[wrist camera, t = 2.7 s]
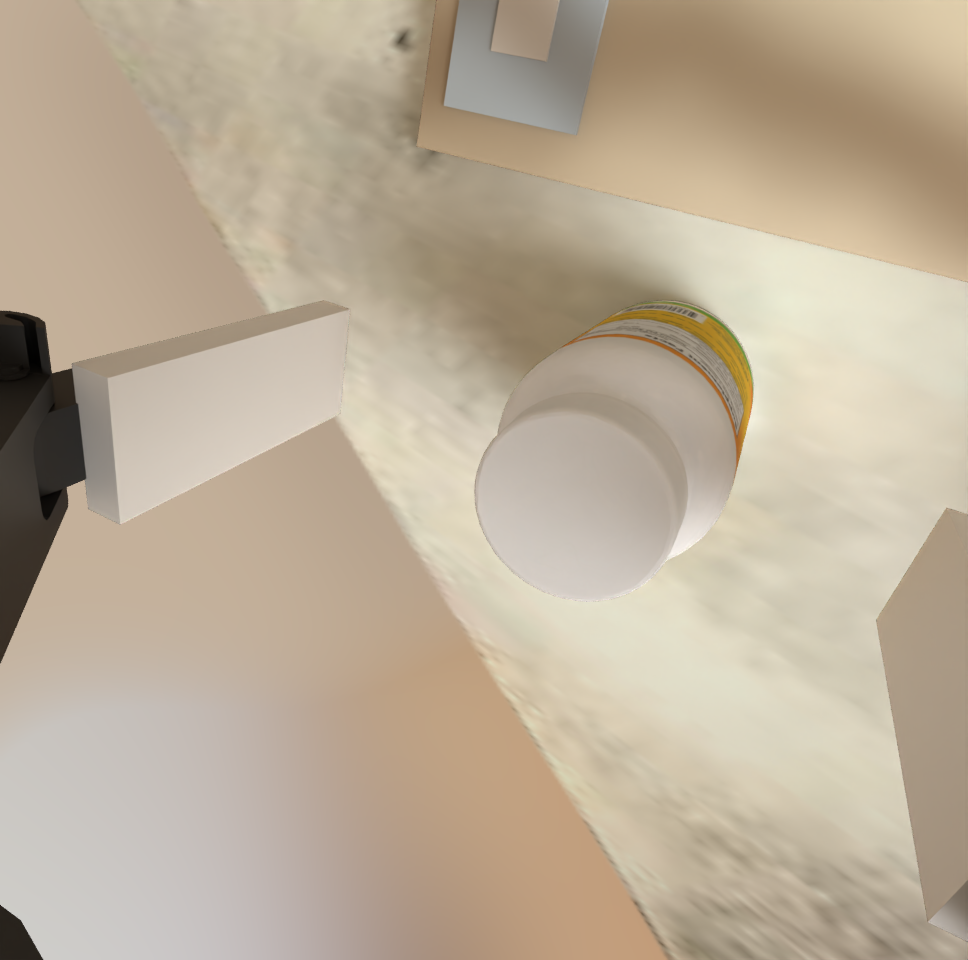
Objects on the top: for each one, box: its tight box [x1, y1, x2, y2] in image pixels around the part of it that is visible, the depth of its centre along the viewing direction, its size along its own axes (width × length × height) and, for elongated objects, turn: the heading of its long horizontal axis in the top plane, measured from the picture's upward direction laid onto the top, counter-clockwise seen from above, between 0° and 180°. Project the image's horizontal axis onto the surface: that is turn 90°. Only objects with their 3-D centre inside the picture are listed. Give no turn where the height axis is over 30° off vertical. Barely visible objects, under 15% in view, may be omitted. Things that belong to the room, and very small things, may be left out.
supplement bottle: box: [475, 300, 754, 602], centre depth 17 cm, size 5×5×10 cm
